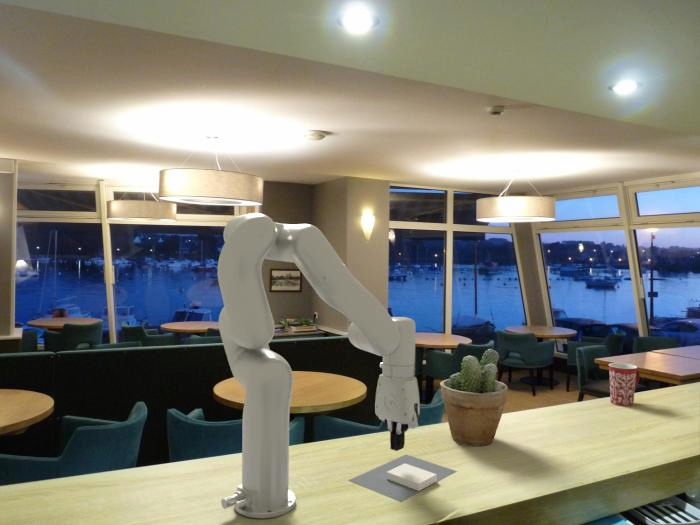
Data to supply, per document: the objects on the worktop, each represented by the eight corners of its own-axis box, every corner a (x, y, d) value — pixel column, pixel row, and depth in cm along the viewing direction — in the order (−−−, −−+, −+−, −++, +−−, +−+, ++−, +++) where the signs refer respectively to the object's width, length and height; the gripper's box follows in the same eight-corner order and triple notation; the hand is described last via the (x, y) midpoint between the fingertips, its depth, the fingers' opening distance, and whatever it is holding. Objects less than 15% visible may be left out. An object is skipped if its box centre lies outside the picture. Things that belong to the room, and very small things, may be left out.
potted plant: (496, 456, 141) (498, 360, 140) (428, 443, 150) (430, 352, 149) (513, 436, 157) (515, 349, 156) (451, 424, 166) (453, 343, 165)
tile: (386, 479, 125) (418, 491, 119) (386, 471, 125) (418, 483, 119) (404, 470, 130) (436, 481, 124) (404, 463, 130) (436, 474, 124)
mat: (401, 503, 114) (401, 501, 114) (348, 482, 124) (348, 480, 124) (456, 472, 130) (456, 471, 130) (405, 455, 140) (405, 454, 140)
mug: (623, 408, 186) (624, 369, 186) (601, 401, 195) (602, 363, 194) (649, 404, 191) (650, 366, 191) (627, 397, 200) (628, 361, 199)
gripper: (363, 368, 129) (362, 444, 129) (415, 378, 119) (414, 462, 119) (383, 363, 135) (382, 436, 135) (434, 373, 125) (433, 452, 125)
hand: (397, 448), depth 127 cm, fingers closed
